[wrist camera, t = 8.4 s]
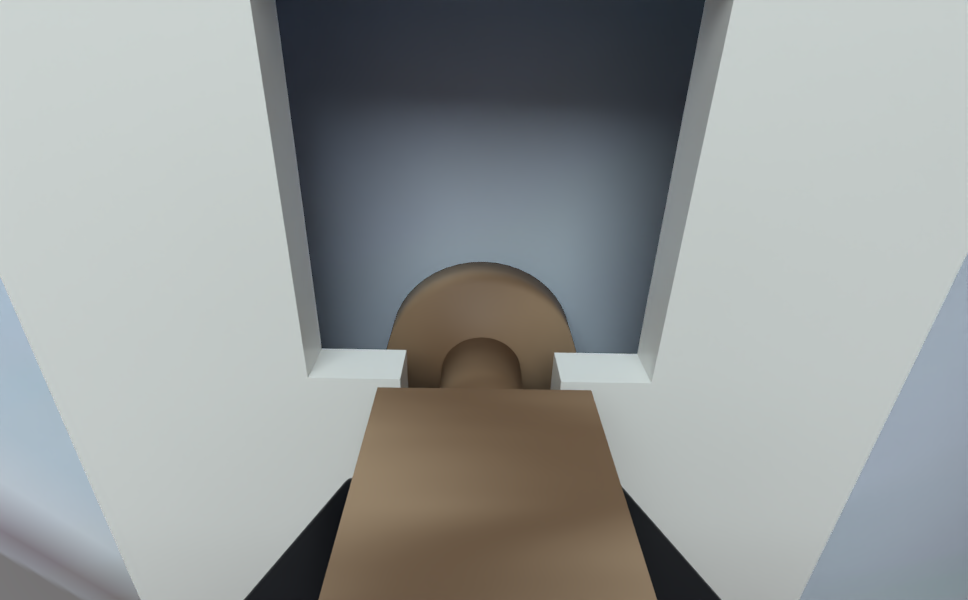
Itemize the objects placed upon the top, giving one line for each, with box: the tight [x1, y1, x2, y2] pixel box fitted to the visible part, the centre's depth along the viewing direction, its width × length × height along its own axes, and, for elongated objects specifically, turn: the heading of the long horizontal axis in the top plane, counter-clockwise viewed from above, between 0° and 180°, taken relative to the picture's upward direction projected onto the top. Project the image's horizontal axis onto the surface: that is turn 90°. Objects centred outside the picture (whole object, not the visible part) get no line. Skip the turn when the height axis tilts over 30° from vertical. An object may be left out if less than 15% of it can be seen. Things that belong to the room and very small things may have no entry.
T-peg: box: [319, 262, 657, 600], centre depth 9 cm, size 4×4×9 cm
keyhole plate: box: [0, 0, 968, 600], centre depth 10 cm, size 16×20×4 cm
